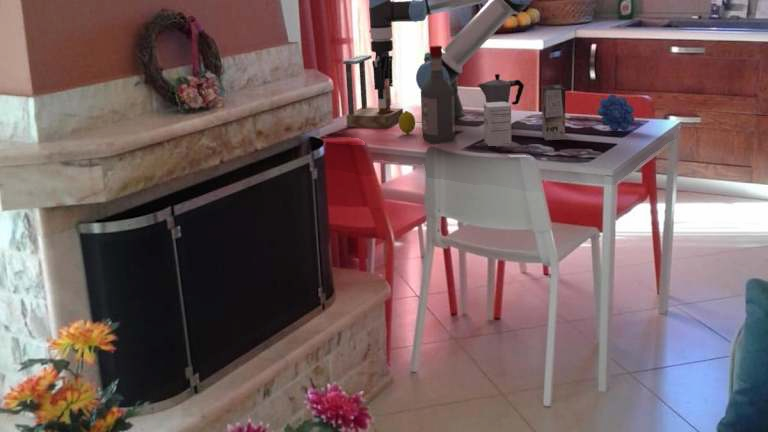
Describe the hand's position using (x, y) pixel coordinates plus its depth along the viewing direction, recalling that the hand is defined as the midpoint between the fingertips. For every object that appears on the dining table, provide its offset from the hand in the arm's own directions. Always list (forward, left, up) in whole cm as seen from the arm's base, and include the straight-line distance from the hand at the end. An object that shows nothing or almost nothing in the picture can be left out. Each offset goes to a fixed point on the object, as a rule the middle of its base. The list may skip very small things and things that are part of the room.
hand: (384, 106), depth 315 cm
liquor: (-27, +22, -6) cm, 35 cm away
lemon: (-14, +16, -6) cm, 22 cm away
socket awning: (+3, 0, -6) cm, 7 cm away
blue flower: (-80, +2, -6) cm, 80 cm away
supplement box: (-47, +24, -6) cm, 53 cm away
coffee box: (-62, +12, -6) cm, 64 cm away
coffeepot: (-42, 0, -6) cm, 43 cm away
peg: (0, 0, -3) cm, 3 cm away
